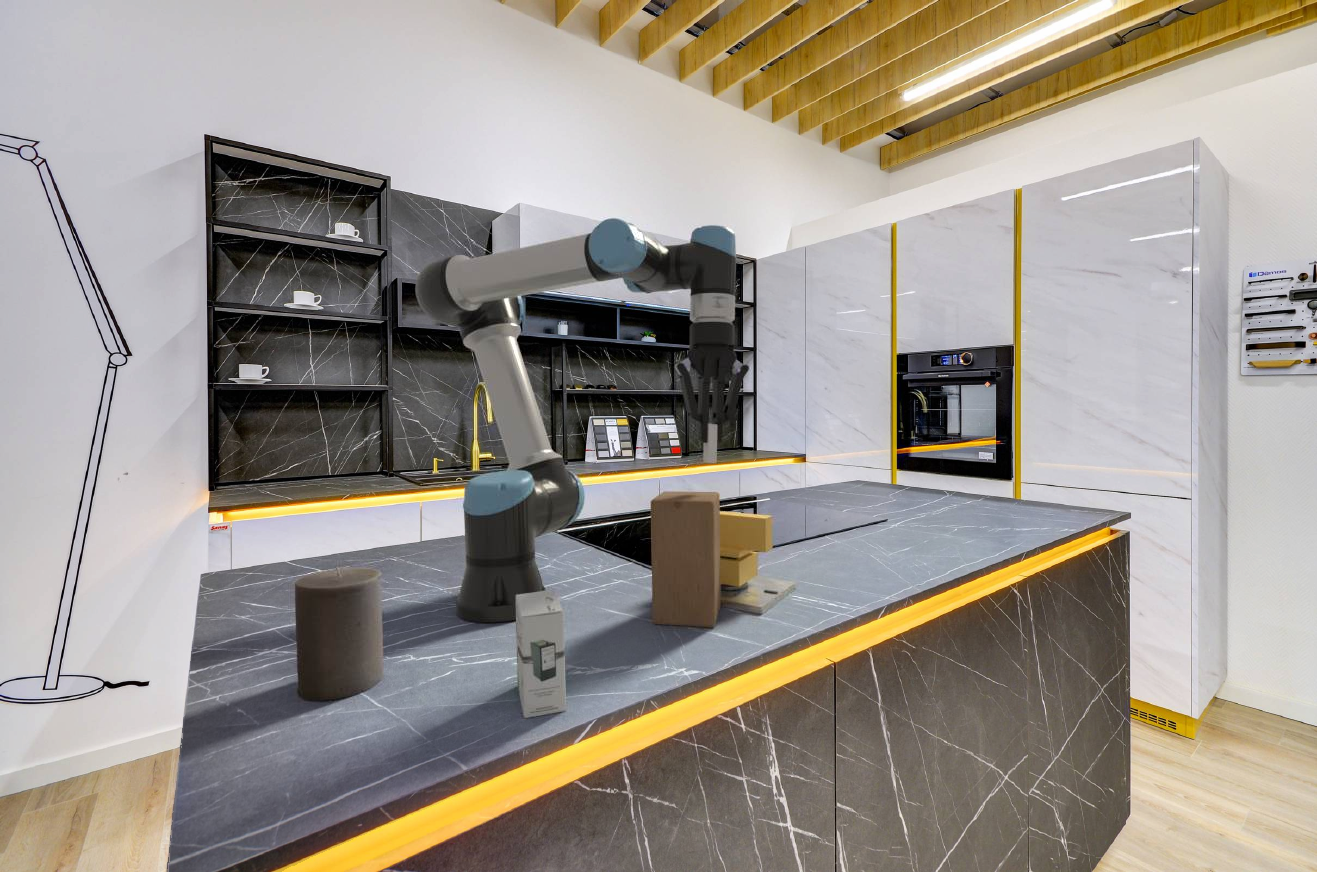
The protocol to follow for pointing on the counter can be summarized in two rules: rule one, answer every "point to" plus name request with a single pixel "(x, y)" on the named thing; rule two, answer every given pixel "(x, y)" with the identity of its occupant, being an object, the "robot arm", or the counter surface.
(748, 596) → the base
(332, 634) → the pillar candle
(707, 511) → the wooden block
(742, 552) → the yellow block with bar
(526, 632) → the ink box
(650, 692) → the counter surface
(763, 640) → the counter surface
